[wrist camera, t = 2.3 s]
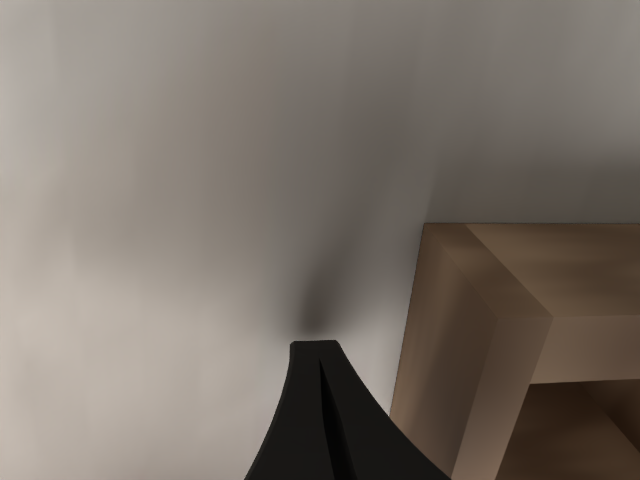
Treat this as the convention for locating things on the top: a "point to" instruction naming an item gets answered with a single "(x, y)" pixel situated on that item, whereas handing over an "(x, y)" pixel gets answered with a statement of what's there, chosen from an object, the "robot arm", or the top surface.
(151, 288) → the top surface
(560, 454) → the block
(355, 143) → the top surface
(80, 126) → the top surface
